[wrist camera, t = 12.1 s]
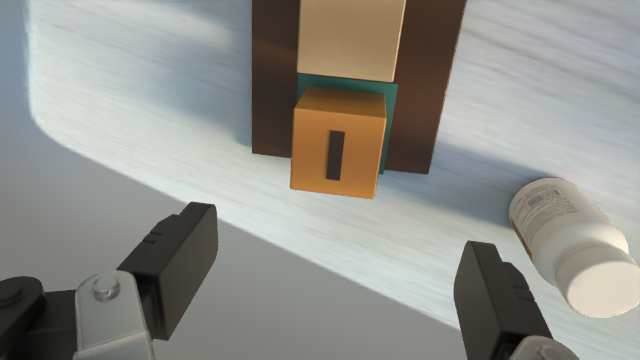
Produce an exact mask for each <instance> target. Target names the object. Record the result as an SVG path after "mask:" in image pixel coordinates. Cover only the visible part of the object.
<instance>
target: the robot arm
mask: <svg viewBox="0 0 640 360" xmlns="http://www.w3.org/2000/svg"><path fill="white" fill-rule="evenodd" d="M217 251H218V231H217V212H216V207H215V205H213V204H206V203H199V202H190V203H189V204H188V205H187V207H185V209H184V210H183V211H182V212H181V213H180V215H175V214H172V215H170V216H169V217H167V218H165V219H163V220H162V221H160V222H159V223H157V225H156V226H155V227H154V228H153V229H152V230H151V231H150V234H148V235H147V236H146V237H145V238H144V239H143V240H142V242H140V243H139V245H138V246H137V247H136V248H135V249H134V250H133V251H132V252H131V253H130V255H129V256H128V257H127V258H126V259H125V260H124V261H123V262H122V263H121V265H120V266H119V267H118V268H117V269H116V270H112V271H106V272H102V273H99V274H96V275H94V276H92V277H90V278H88V279H87V280H85V281H84V282H83V283H82V284H81V285H80V286H79V287H78V289H76V290H66V291H55V292H44V290H43V286H42V284H41V282H40V281H39V280H38V279H36V278H33V277H27V276H26V277H25V276H22V277H14V278H9V279H6V280H3V281H0V360H156V359H155V355H154V351H153V347H152V341H153V339H160V340H166V341H168V340H169V338H170V337H171V335H172V333H173V332H174V330H175V328H176V326H177V324H178V323H179V321H180V320H181V318H182V316H183V315H184V313H185V311H186V309H187V308H188V306H189V304H190V303H191V301H192V299H193V297H194V296H195V294H196V292H197V291H198V289H199V287H200V285H201V284H202V282H203V280H204V278H205V277H206V275H207V273H208V272H209V270H210V268H211V266H212V265H213V263H214V261H215V258H216V255H217ZM534 300H535V299H534V297H533V295H532V293H531V291H529V286H528V284H527V282H526V280H525V278H524V276H523V274H522V273H521V272H520V271H519V270H518V269H517V268H516V267H514V266H513V265H512V264H511V263H509V262H502V260H501V258H500V255H499V253H498V251H497V248H496V246H495V245H494V244H491V243H484V242H476V241H467V243H466V245H465V247H464V251H463V254H462V257H461V261H460V264H459V267H458V271H457V274H456V277H455V282H454V301H455V306H456V310H457V315H458V319H459V323H460V328H461V332H462V337H463V341H464V345H465V350H466V354H467V359H468V360H579V358H578V357H577V356H576V355H575V354H574V353H573V352H572V351H571V350H570V349H568V348H567V347H566V346H564V345H563V344H561V343H559V342H557V341H555V340H554V339H553V337H552V335H551V333H550V330H549V328H548V326H547V324H546V322H545V320H544V318H543V316H542V314H541V311H540V309H539V307H538V305H537V303H536V302H535V301H534Z"/></svg>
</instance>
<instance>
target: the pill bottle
mask: <svg viewBox="0 0 640 360" xmlns="http://www.w3.org/2000/svg"><path fill="white" fill-rule="evenodd" d="M509 219H510V222H511V224H512V226H513V228H514V230H515V232H516V234H517V235H518V237H519V239H520V241H521V243H522V245H523V246H524V248H525V250H526V252H527V254H528V255H529V257H530V259H531V261H532V263H533V264H534V266H535V268H536V269H537V271H538V273H539V274H540V275H541V277H542V278H543V279H544V280H546V281H547V282H548V283H550V284H551V285H553V286H555V287H557V288H558V289H559V291H560V292H561V294H562V295H563V297H564V299H565V300H566V302H567V303H568V305H569V306H570V307H571V308H572V309H573V310H574V311H576V312H577V313H579V314H581V315H584V316H587V317H593V318H607V317H613V316H617V315H620V314H623V313H625V312H627V311H629V310H630V309H632V308H634V307H635V306H636V305H638V303H639V302H640V267H639V266H638V265H637V264H636V262H635V261H634V260H633V258H632V257H631V256H630V255H628V244H627V241H626V239H625V237H624V235H623V234H622V233H621V232H620V230H619V229H618V228H617V227H616V226H615V225H614V224H613V223H612V222H611V221H610V220H609V219H608V218H607V217H606V216H605V215H604V214H603V213H602V212H601V211H600V209H599V208H598V207H597V206H596V205H595V204H594V203H593V202H592V201H591V200H590V199H589V198H588V197H587V196H586V195H585V194H584V193H583V192H582V191H581V190H580V189H579V188H578V187H577V186H576V185H575V184H573V183H571V182H569V181H567V180H564V179H559V178H544V179H540V180H536V181H534V182H531V183H529V184H527V185H526V186H524V187H523V188H522V189H520V190H519V191H518V192H517V194H516V195H515V196H514V198H513V199H512V201H511V204H510V207H509Z"/></svg>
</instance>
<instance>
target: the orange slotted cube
mask: <svg viewBox="0 0 640 360" xmlns="http://www.w3.org/2000/svg"><path fill="white" fill-rule="evenodd" d="M386 120H387V118H386V106H385V95H384V94H376V93H367V92H357V91H348V90H339V89H329V88H320V87H310V86H308V87H307V89H306V90H305V92H304V93H303V95H302V97H301V98H300V100H299V101H298V103H297V105H296V106H295V108H294V115H293V136H292V157H291V178H290V188H291V189H295V190H303V191H311V192H318V193H326V194H334V195H342V196H350V197H358V198H366V199H374V196H375V190H376V183H377V177H378V171H379V165H380V158H381V152H382V146H383V139H384V133H385V127H386Z"/></svg>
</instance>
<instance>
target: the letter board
mask: <svg viewBox="0 0 640 360" xmlns="http://www.w3.org/2000/svg"><path fill="white" fill-rule="evenodd" d="M466 1H467V0H252V153H253V154H261V155H270V156H278V157H286V158H291V157H292V136H293V115H294V108H295V106H296V105H297V103H298V101H299V100H300V98H301V97H302V95H303V93H304V92H305V90H306V89H307V87H308V86H310V87H320V88H329V89H339V90H348V91H357V92H367V93H376V94H384V95H385V106H386V118H387V120H386V127H385V133H384V139H383V146H382V152H381V158H380V165H379V171H378V174H381V175H383V172H384V169H385V170H394V171H402V172H410V173H418V174H428V172H429V168H430V163H431V159H432V154H433V150H434V145H435V141H436V136H437V132H438V127H439V123H440V118H441V114H442V109H443V105H444V100H445V96H446V91H447V87H448V82H449V78H450V73H451V69H452V64H453V60H454V55H455V51H456V46H457V42H458V37H459V33H460V28H461V24H462V19H463V15H464V10H465V6H466Z"/></svg>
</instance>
